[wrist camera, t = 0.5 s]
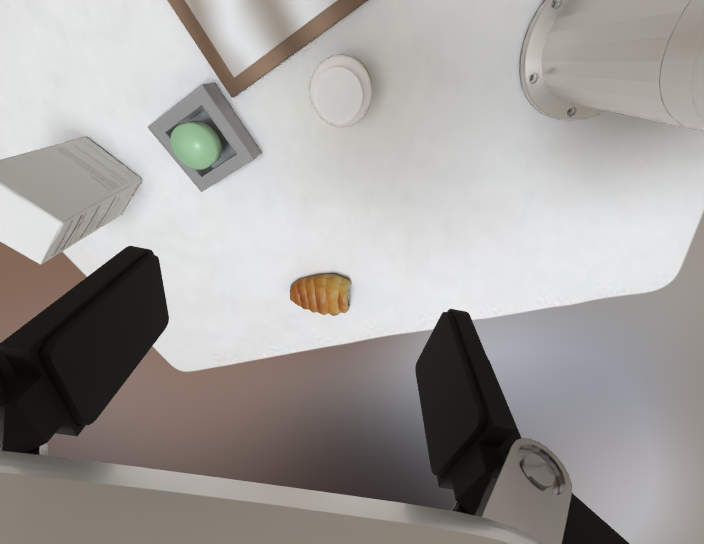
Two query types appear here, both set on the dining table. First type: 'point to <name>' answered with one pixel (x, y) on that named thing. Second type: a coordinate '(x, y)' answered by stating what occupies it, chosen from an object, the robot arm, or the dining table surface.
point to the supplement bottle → (340, 90)
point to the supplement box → (60, 196)
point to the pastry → (322, 293)
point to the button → (196, 144)
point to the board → (255, 32)
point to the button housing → (224, 120)
